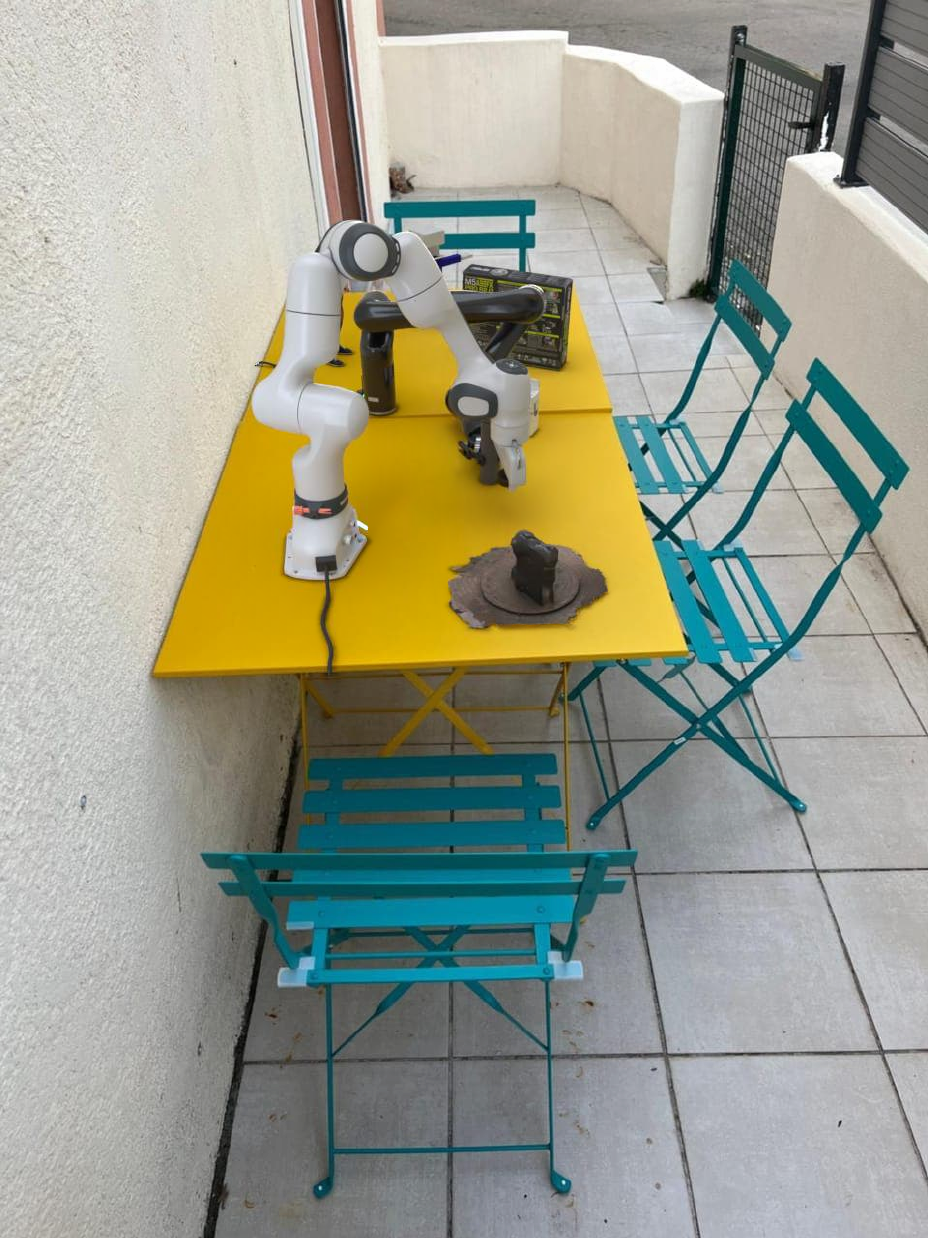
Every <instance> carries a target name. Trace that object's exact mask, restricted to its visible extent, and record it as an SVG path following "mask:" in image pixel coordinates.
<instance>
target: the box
mask: <svg viewBox="0 0 928 1238" xmlns="http://www.w3.org/2000/svg"><path fill="white" fill-rule="evenodd" d="M525 285H536V286H538V287H540V288H541V289H542V290H543V291H544V293H545V295H546V299H547V306H546V310H545V312H544V314H543V315H542V316H541V318H540V319H538V320H537V321H536V322H534V323H533V324H532V325H531V326H530V327H529V328H528V329H527V330H526V331H525V333H524V334H523V335H522V337H521V338H520V339H519V341H518V342H517V344H516V345H515V347H514V348H513V350H512V352H511V353H510V355H509V357H508V358H507V359H513V360H516V361H519V362H520V363H522V364H524V365H525V366H531V367H538V368H544V369H547V370H554V371H560V370H561V369H562V367H563V366H564V365H565V363H566V362H567V360H568V359H567V358H568V346H569V345H568V344H569V336H570V335H569V334H570V323H571V322H570V321H571V309H572V308H571V307H572V299H573V285H574V278H570V277H566V276H559V275H552V274H547V273H545V274H544V273H540V272H539V273H538V272H532V271H525V270H517V269H510V268H504V267H496V266H489V265H482V264H475V263H470V264H468V266H466V268H464V269H463V270H462V290H468V291H477V292H484V293H495V292H503V291H510V290H515V289H519V288H520V287H522V286H525ZM502 323H503V322H489V323H483V324H477V325H469V326H470V328H471V330H472V331H473V333H474V335H475V337H476V339H477V340H478V342H479V344H480V346H481V347H482V348H483V349H484V348H485V346H486V345H487V344H488V343H489V341H490V340H491V339H492V337H493V336H494V335H495V333H496V332H497V331H498V329H499V328H500V326H501V325H502Z"/></svg>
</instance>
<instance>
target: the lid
mask: <svg viewBox="0 0 928 1238" xmlns="http://www.w3.org/2000/svg"><path fill="white" fill-rule="evenodd" d="M508 482H509V481H508V478H507V476H506V473H505V471H504V469H502V468H500V471H498V473H497V484H498V485H499V486H501V487H503V488H507V489H508Z"/></svg>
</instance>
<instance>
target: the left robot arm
mask: <svg viewBox="0 0 928 1238" xmlns="http://www.w3.org/2000/svg"><path fill="white" fill-rule="evenodd" d="M381 279H382V280H383V281H384V283H386V285H387V286H388V287H389V289H390V292H391V294H392V296H393V298H394V300H395V302H397V304H398V306H399V308H400V310H401V311H402V313H403V314H404V316H405V317H406V319H407V320H408V321H409V322H410V324H411V325H413V326H415V327H417V328H416V329H420V330H436V331H437V332H438V333H439V334H440V335H441V337H442V338H443V339H444V341H445V343H446V345H447V346H448V348H449V350H450V351H451V353H452V355H453V358H454V359H455V361H456V364H457V375H456V377H455V379H454V381H453V383H452V386H451V387H452V388H451V387H450V388H451V391H450V393H449V398H448V399H449V405H450V407H451V409H452V411H453V412H454V413H455V414H456V415H457V416H459V417H461V418H463V419H466V420H485V419H490V424H491V439H492V440H493V442H494V446H495V448H496V451H497V453H498V456H499V458H500V467H501V469H504V471H505V473H506V476H507V478H508V481H509V482H508V488H507V489H508V491H509V492H511V493H513V492H516V491H517V487H523V486H526V483H527V459H526V454H525V452H524V449H523V446H524V444H526V442H528V441H529V439H530V436H529V428H530V415H529V411H528V409H529V405H530V401H531V382H530V378H531V375H530V372H529V370H528V368H527V365H524V364H522V363H520V362H519V361H516V360H513V359H500V360H498V361H497V362H496V361H495V360H494V359H493V358H492V357H491V356H490V355H489V354H487V353H486V352H485V351H484V349H483V348H482V347H481V346H480V344H479V342H478V340H477V339H476V337H475V335H474V333H473V331H472V330H471V328H470V326H469V324H468V323H467V321H466V319H465V317H464V315H463V314H462V312H461V310H460V309H459V307H458V306H457V304H456V302H455V300H454V299H453V297H452V294H451V292H450V288H449V286H448V283H447V282H446V279H445V277H444V276H443V272H442V273H441V271H440V269H439V267H438V265H437V263H436V262H435V260H434V258H433V256H432V255H431V253H430V252H429V250H428V249H427V247H426V246H425V244H424V243H423V242H422V240H421V239H420V238H419V237H418V236H417V235H416V234H414V233H412V232H409V231H402V232H398V233H395V234H393V235H391V234H390V233H388V232H387V231H386V230H385V229H384V228H381V227H380V226H378V225H376V224H374V223H372V222H366V221H364V220H360V219H348V220H341V221H337V222H335V223H333V224H332V225H330V226H329V228H328V229H327V230H326V231H325V233H324V235H323V237H322V238H321V240H320V242H319V243H318V245H317V247H316V248H315V250H314V252H306V253H303V254H299V255H298V256H296V257H295V258H294V259H293V261H292V262H291V265H290V270H289V275H288V280H287V286H286V293H285V317H284V333H283V334H284V335H283V345H282V351H281V354H280V357H279V359H278V362H277V364H276V365H277V366H276V367H274V369H273V370H272V371H271V373H270V374H269V375H268V376H266V377H265V378H263V379H262V380H260V382H259V383H258V384H257V385H256V387H255V388H254V390H253V392H252V395H251V410H252V413H253V415H254V417H255V419H256V421H257V422H258V423H260V424H262V425H264V426H266V427H269V428H272V429H274V430H276V431H278V432H279V431H280V432H285V433H290V434H291V433H292V434H296V435H302V436H306V437H308V438H309V440H310V443H308V444H305V445H303V446H301V447H300V448H299V449H298V450H296V451H295V453H294V455H293V457H292V460H291V469H292V470H291V471H292V477H293V483H294V489H293V504H294V505H293V506H292V508H291V510H292V523H291V524H292V526H291V527H290V530H289V532H288V533H287V535H286V543H285V555H284V574H285V575H287V576H289V577H292V578H295V579H300V580H310V581H324V585H325V600H324V605H323V608H322V611H321V615H320V628H321V632H322V635H323V636H324V639H325V641H326V645H327V648H328V658H327V663H326V664H327V665H326V666H327V667H326V670H327V672H326V673H327V677H328V678H331V677H332V676H333V659H334V647H333V643H332V640H331V637H330V636H329V635H330V634H329V632H328V630H327V627H326V614H327V611H328V608H329V605H330V599H331V587H330V585H331V584H330V580H337V579H340V578H343V577H345V576H346V575H347V573H348V572H349V571H350V569H351V567H352V566H353V564H354V563H355V561H356V559H357V558H358V557H359V556H360V553H361V552H362V551H363V549H364V548H365V546H366V544H367V542H368V539H367V536H366V535H365V534H363V533H361V532H360V527H361V528H362V529H364V530H366V531H368V528H369V527H368V526H367V525H366V524H364V523H363V522H361V521H359V520H358V514H357V510H356V508H354V506H352V505H351V503H350V502H349V489H348V486H347V483H346V482H345V472H344V457H345V453H346V450H347V449H348V447H349V446H350V445H351V443H353V442H354V441H356V440H357V439H359V438H360V437H361V436H362V435H363V434H364V433H365V431H366V429H367V428H368V425H369V421H370V414H369V408H368V405H367V402H366V400H365V399H364V397H363V396H362V395H361V394H359V393H357V391H353V390H351V389H348V388H345V387H343V386H339V385H338V386H337V385H331V384H326V383H325V384H324V383H318V382H314V381H315V380H314V379H315V374H316V371H317V369H318V367H321V366H325V365H326V364H328V362H330V361H332V360H333V359H334V358H335V357H336V358H337V356H338V355H339V354H338V351H339V345H340V344H341V332H340V323H341V298H342V293H343V294H344V291H345V290H344V287H345V285H346V286H347V285H348V283H349V281H357V282H364V283H365V282H374V281H378V280H381ZM343 290H344V291H343Z"/></svg>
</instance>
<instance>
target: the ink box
mask: <svg viewBox="0 0 928 1238" xmlns="http://www.w3.org/2000/svg"><path fill="white" fill-rule="evenodd" d="M530 383H531V401H530V405H529V409H528V411H529V415H530V428H529V437H532V436H533V434H535V432H537V430H538V427H539V410H540V396H541V395H540V394H541V391H540V384H541V383H540V379H536V378H532V377H530Z"/></svg>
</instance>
